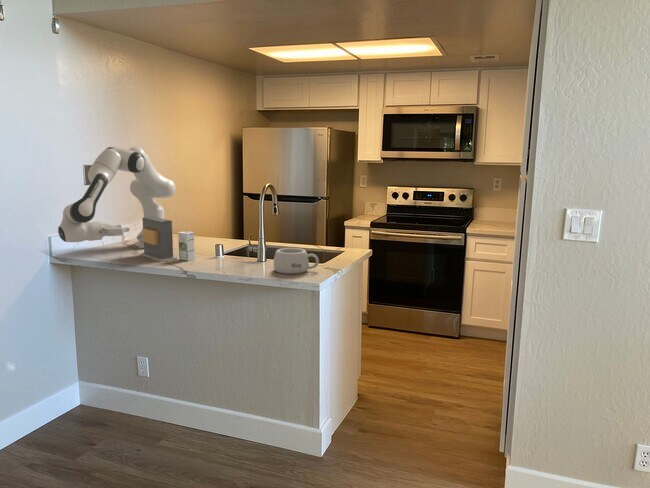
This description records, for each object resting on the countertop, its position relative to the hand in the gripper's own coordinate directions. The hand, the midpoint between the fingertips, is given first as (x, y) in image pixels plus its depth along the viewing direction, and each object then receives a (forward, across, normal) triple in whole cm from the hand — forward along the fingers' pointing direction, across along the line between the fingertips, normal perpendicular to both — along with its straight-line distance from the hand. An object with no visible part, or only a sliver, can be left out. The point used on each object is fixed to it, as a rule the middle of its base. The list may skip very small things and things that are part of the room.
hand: (124, 228), depth 259 cm
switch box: (+17, 0, +17) cm, 24 cm away
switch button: (+14, 0, +9) cm, 16 cm away
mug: (+51, -70, +17) cm, 88 cm away
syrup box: (+25, -15, +17) cm, 34 cm away
